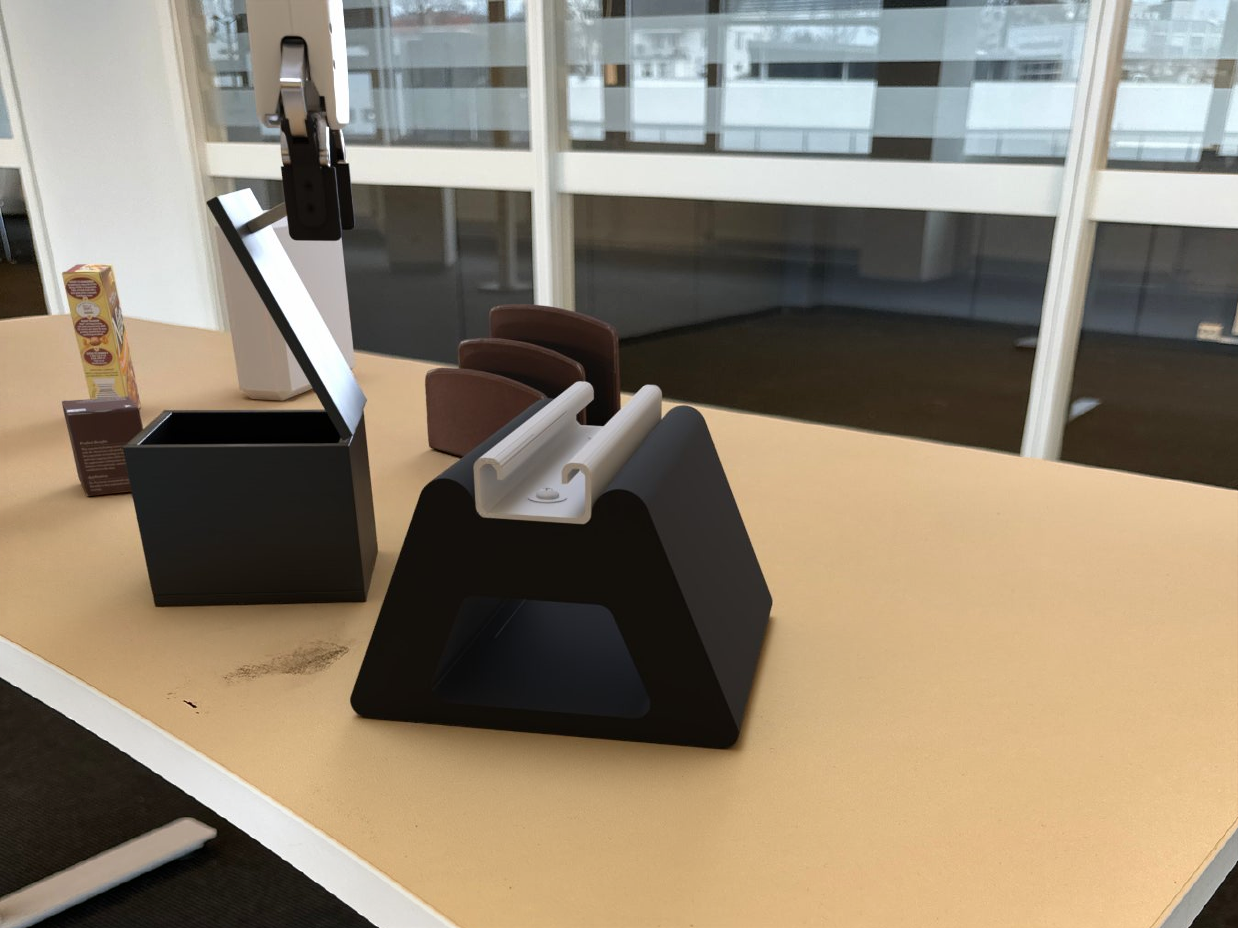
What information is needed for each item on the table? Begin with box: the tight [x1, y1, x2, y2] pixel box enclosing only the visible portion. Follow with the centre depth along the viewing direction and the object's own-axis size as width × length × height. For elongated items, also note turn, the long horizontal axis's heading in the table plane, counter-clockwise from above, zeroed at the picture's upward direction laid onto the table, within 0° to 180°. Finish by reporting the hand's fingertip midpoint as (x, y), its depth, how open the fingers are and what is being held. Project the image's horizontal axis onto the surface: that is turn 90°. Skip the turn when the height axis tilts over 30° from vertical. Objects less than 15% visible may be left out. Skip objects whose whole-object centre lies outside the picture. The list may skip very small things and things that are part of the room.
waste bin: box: [123, 408, 379, 607], centre depth 89 cm, size 15×13×11 cm
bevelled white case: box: [214, 209, 356, 402], centre depth 154 cm, size 21×8×20 cm, turn 169°
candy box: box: [61, 263, 142, 409], centre depth 137 cm, size 9×4×15 cm, turn 13°
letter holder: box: [424, 303, 622, 458], centre depth 123 cm, size 10×20×14 cm, turn 45°
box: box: [61, 396, 144, 497], centre depth 112 cm, size 6×6×7 cm
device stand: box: [349, 381, 774, 750], centre depth 75 cm, size 22×22×15 cm
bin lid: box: [205, 187, 368, 440], centre depth 83 cm, size 15×13×6 cm
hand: (324, 233), depth 81 cm, fingers open, 9 cm apart
